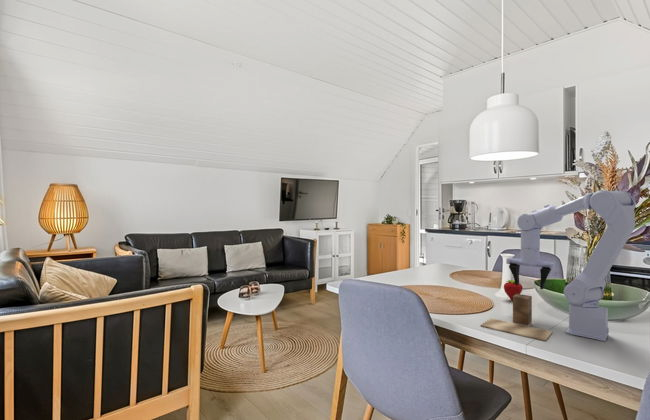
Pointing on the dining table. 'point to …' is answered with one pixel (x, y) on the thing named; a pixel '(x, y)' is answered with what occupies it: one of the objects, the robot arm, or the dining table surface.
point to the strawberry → (512, 288)
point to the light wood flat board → (517, 329)
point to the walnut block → (522, 309)
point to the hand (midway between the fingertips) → (529, 286)
